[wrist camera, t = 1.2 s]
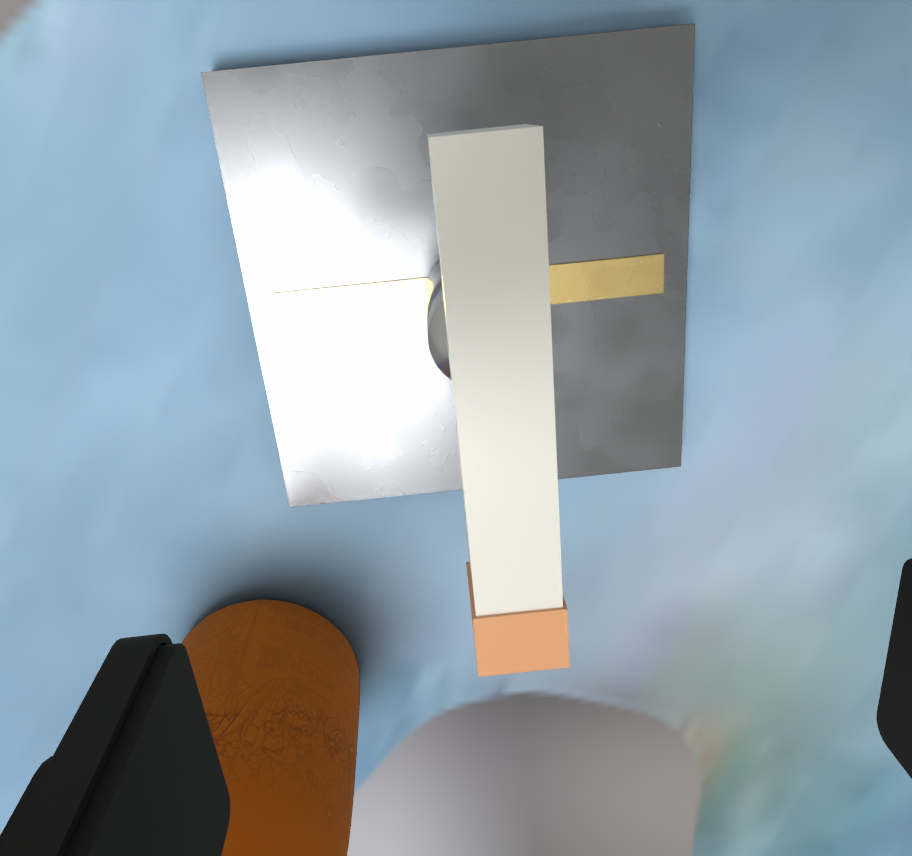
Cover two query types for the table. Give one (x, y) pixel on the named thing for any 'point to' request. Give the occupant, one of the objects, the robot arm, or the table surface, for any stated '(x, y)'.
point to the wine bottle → (280, 725)
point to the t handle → (503, 388)
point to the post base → (417, 254)
